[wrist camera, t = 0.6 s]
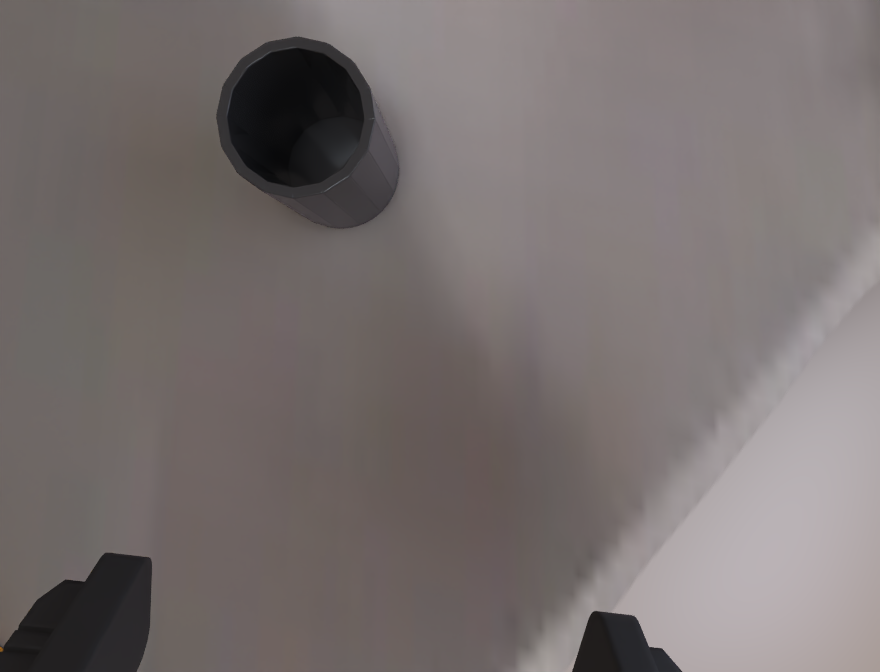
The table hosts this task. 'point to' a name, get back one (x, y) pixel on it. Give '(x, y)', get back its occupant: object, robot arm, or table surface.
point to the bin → (308, 132)
